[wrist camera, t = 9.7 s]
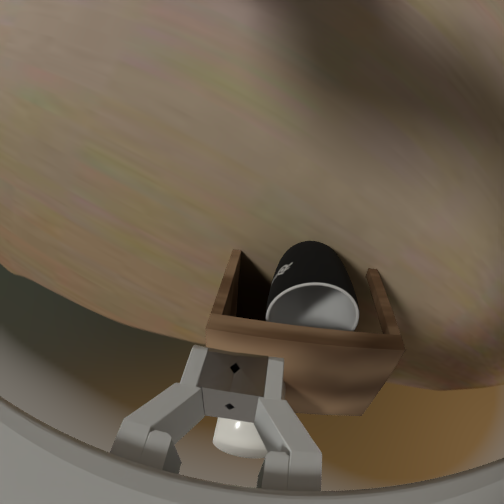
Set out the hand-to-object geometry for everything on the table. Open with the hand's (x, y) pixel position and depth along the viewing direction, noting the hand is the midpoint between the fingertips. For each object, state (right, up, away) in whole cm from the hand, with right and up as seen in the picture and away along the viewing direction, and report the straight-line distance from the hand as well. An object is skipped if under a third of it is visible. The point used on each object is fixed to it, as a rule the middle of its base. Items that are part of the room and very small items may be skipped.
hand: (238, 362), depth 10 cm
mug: (+7, +1, +27) cm, 28 cm away
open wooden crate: (+7, -2, +29) cm, 30 cm away
